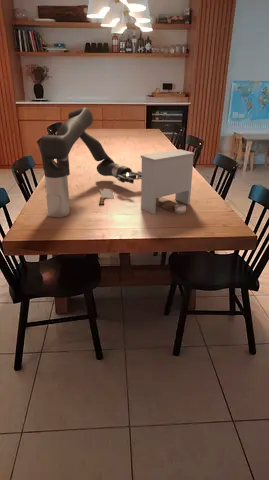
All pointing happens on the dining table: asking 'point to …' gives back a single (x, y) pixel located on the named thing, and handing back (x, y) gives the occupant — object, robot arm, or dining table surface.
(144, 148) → the dining table surface
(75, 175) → the dining table surface
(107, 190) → the kitchen cleaver
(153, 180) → the cabinet
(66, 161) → the wine bottle
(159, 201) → the upright wooden plank
